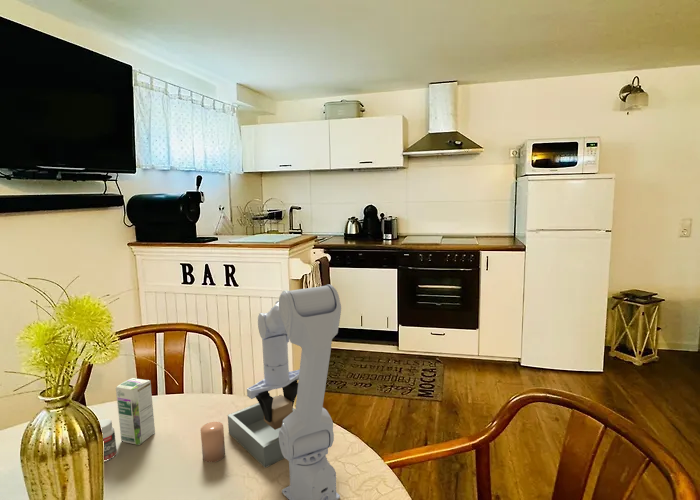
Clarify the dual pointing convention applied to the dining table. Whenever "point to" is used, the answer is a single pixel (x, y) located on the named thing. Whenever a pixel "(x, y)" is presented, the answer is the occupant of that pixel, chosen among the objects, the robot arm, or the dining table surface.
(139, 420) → the syrup box
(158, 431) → the dining table surface
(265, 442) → the box
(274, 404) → the walnut cube
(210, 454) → the terracotta cylinder
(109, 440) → the pill bottle
